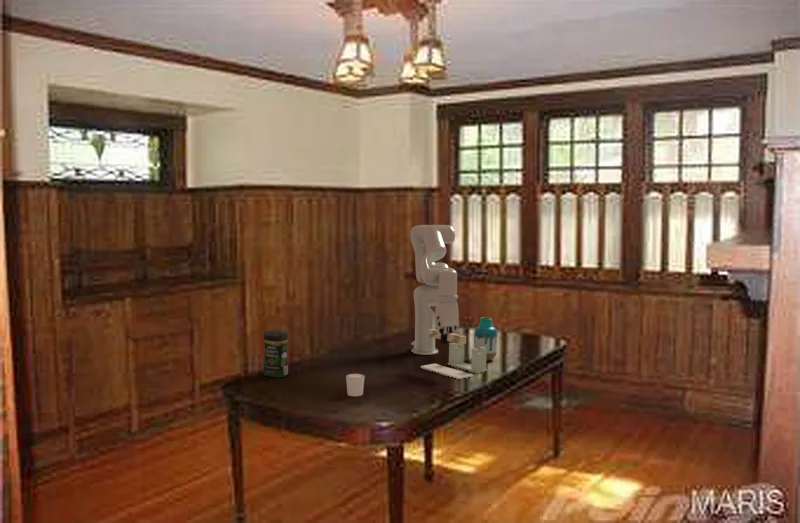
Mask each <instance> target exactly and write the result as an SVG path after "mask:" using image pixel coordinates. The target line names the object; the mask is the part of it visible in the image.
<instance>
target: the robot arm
mask: <svg viewBox="0 0 800 523" xmlns="http://www.w3.org/2000/svg"><path fill="white" fill-rule="evenodd" d="M455 239H456V231H455V229H454V227H453V226H452V225H451V224H450V225H449V224H420V225H419V224H418V225H415V226H413V227H412V228H411V229H410V241H411V245H412V248H413V251H414V256H415V258H414V259H415V261H414V262H415V276H416V281H417V282H419V283H425V285H421V286H417V287H416V288H415V289H414V290H413V300H414V314H415V317H414V318H415V319H414V322H415V323H414V340H413V341H412V342H411V344H410V345H411V346H413V348H412V349H411V353H412V352H413V353H412V354H414V355H423V356H429V355H430V356H432V355H436V354H438V353H439V349H438V348H436V338H433V337H429V330H430V329H436V330H438V331H439V332H440V334H441V339H440V344H443V345H447V344H449V343H454V342H450V341H447V335H446V332H450V333H455V331H456V330H457V329H458V328H459V327H460V317H459V316H460V313H459V312H460V310H459V305H458V302H457V299H459V296H458V295H457V293H458V292H457V291H458V272H457V270H455V269H454V268H452V267H449V266H448V264H447V263H445V262H437V261H439V260H441V259H443V258H444V257H445V255H446V254H447V248H446V245H447V244H448V245H449V244H453V243H454V242H455ZM431 307H435V311H433V309H432V308H431ZM455 334H456V333H455Z"/></svg>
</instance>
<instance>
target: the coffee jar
mask: <svg viewBox="0 0 800 523" xmlns="http://www.w3.org/2000/svg"><path fill="white" fill-rule="evenodd" d="M262 341H263V345H264V361H263V363H264V364H263V375H264V376H266V377H270V378H277V379H278V378H284V377H286V376H288V374H289V362H288V353H287V352H288V350H287V349H288V343H289V336H288V333H287V331H283V330H282V331H281V330H275V329H270V330H266V331H264V333H263V340H262Z"/></svg>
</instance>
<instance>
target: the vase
mask: <svg viewBox="0 0 800 523" xmlns="http://www.w3.org/2000/svg"><path fill="white" fill-rule="evenodd" d="M498 339H499V338H498V330H497V328H496V327H495V326H494V325H493V318H492V317H489V316H488V317H485V316H483V317H480V318H479V324H478V326H475V328H474V334H473V348H475V349H478V352H480V347H485V348H487V352H486V362H487V361H492V360H494V359H495V357H496V356H497V352H498Z"/></svg>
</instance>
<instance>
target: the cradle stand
mask: <svg viewBox="0 0 800 523" xmlns="http://www.w3.org/2000/svg"><path fill="white" fill-rule="evenodd" d="M464 345H465V344H458V343H454V342H453V343H449V342H448V362H447V366H449V365H451V366H450V367H453V366H454V368H456V367H457V368H456V369H460V368H461V369H460V370H463V369H464V370H463V371H466V370H468V371H467V372H470V371H471V372H470V373H473V372H474V374H481V373H480V372H482V373H486V372H485V371H487V372H488V368H487V361H486V352H487V348H485V347H480V352H478V349H475V348H474V347H472V348H471V362H470V363H466V362H465V361H464V348H465V346H464Z"/></svg>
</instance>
